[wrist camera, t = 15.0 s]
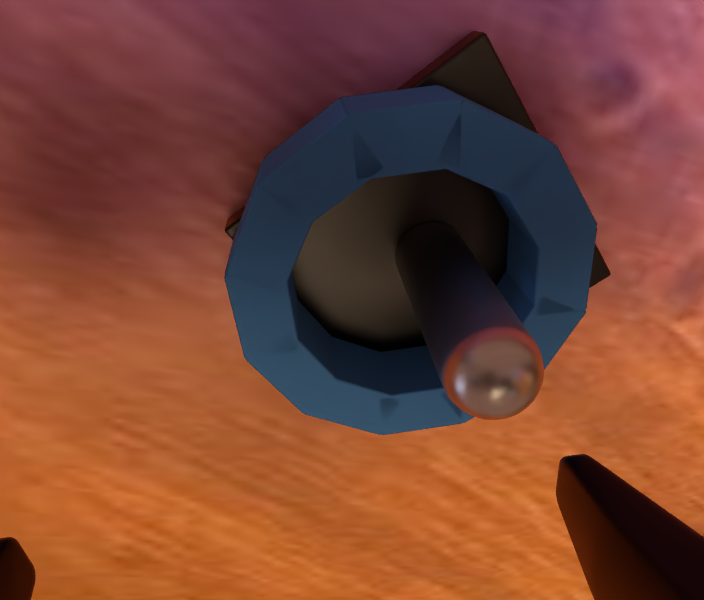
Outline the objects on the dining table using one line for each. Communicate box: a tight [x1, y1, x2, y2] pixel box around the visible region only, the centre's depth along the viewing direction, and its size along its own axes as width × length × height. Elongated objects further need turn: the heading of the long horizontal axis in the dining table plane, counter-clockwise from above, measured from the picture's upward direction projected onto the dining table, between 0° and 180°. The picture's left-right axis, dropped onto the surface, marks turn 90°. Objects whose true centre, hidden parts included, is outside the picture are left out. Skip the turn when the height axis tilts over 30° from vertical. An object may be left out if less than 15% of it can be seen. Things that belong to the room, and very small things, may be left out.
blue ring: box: [224, 85, 597, 435], centre depth 16 cm, size 10×10×2 cm
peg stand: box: [225, 31, 610, 420], centre depth 14 cm, size 9×9×8 cm
